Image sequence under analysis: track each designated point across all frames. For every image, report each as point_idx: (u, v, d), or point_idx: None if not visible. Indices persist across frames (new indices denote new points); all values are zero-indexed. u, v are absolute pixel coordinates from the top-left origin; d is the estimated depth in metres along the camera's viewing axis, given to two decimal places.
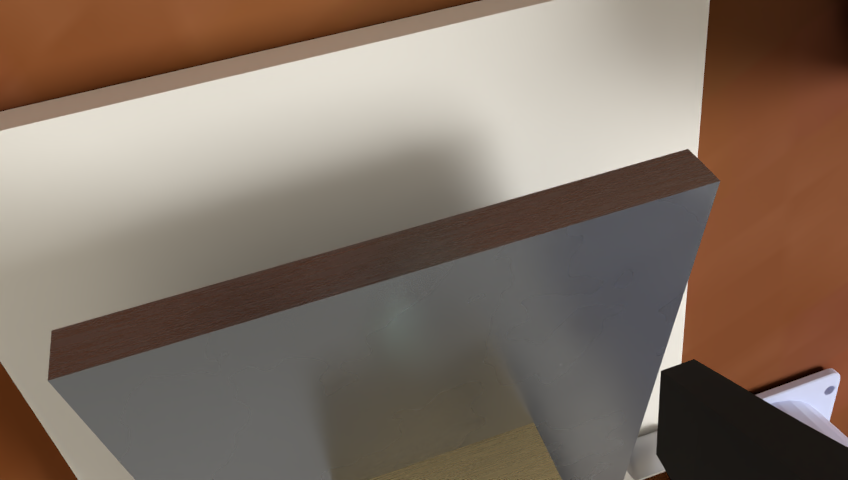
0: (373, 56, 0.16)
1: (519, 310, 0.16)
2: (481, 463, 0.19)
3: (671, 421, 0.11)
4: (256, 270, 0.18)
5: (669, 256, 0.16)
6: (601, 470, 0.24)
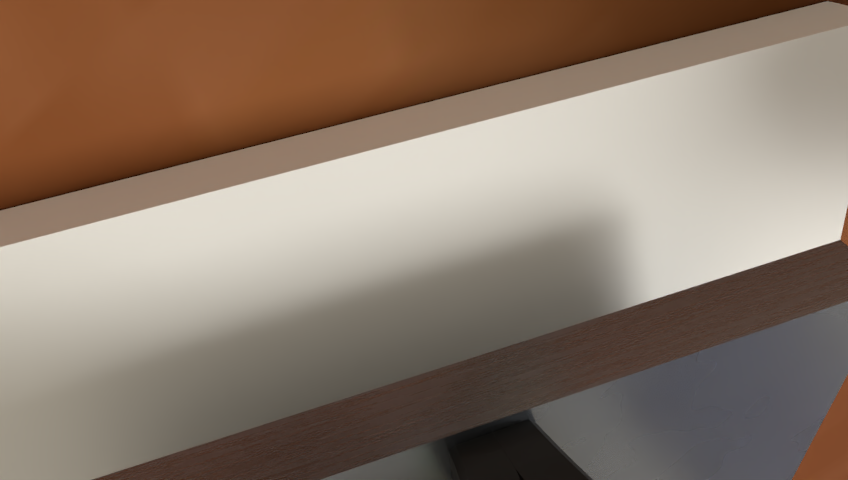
0: (447, 147, 0.12)
1: (625, 453, 0.12)
2: None
3: None
4: (285, 413, 0.14)
5: (816, 376, 0.12)
6: None
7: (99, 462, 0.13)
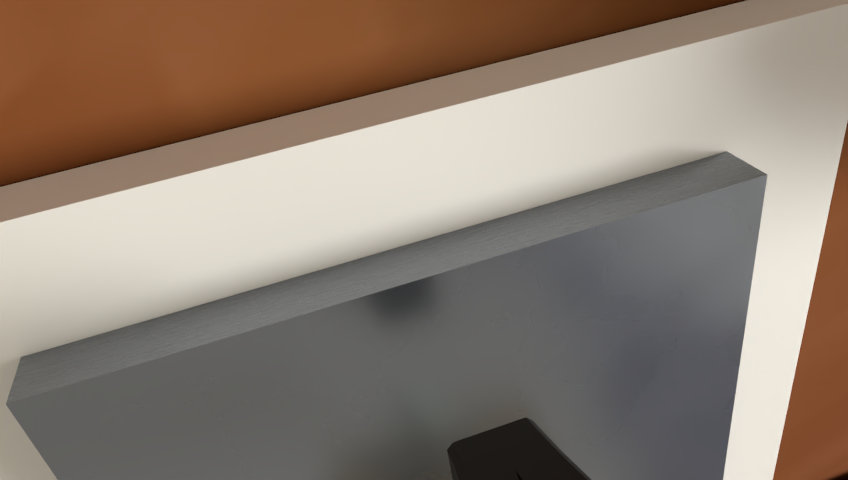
0: (433, 128, 0.12)
1: (554, 338, 0.14)
2: None
3: None
4: None
5: (721, 274, 0.14)
6: None
7: None
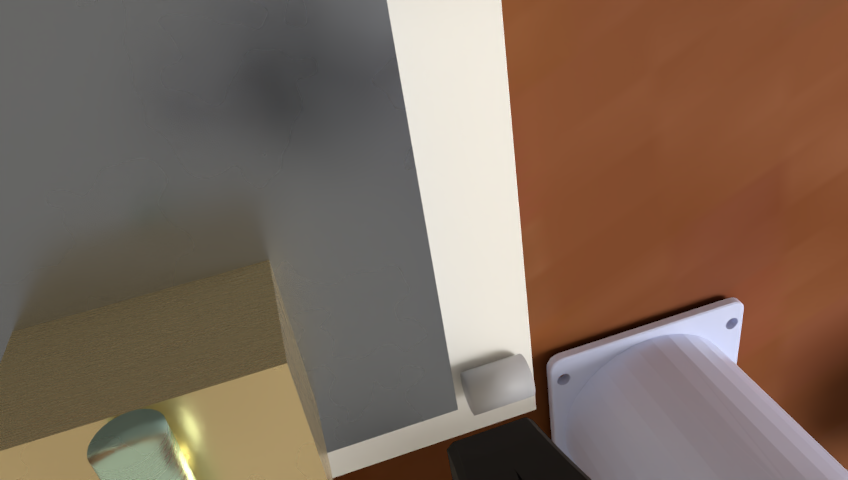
0: None
1: (162, 37, 0.13)
2: (191, 296, 0.16)
3: None
4: None
5: None
6: (414, 381, 0.20)
7: None
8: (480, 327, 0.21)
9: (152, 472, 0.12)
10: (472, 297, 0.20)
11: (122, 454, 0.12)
